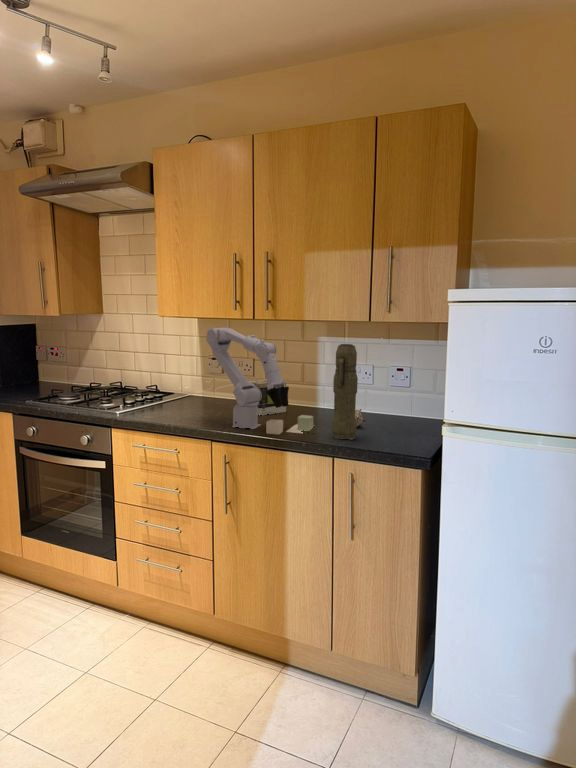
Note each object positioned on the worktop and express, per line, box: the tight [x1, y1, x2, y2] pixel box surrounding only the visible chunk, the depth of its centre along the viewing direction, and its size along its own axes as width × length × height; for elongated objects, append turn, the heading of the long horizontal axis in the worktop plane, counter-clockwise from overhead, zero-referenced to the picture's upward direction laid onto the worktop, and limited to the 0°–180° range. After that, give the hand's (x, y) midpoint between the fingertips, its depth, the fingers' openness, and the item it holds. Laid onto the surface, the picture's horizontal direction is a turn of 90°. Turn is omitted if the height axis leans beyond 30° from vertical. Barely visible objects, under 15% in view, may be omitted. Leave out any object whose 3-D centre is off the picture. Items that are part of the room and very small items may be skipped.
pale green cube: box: [297, 414, 314, 431], centre depth 212 cm, size 5×5×5 cm
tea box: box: [249, 378, 287, 417], centre depth 243 cm, size 15×10×15 cm, turn 126°
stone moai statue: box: [331, 343, 359, 439], centre depth 198 cm, size 9×12×35 cm
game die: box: [355, 408, 366, 428], centre depth 217 cm, size 9×8×10 cm
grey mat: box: [285, 423, 303, 434], centre depth 212 cm, size 12×14×1 cm
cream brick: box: [265, 418, 284, 435], centre depth 206 cm, size 5×5×5 cm
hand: (282, 406), depth 204 cm, fingers open, 7 cm apart
